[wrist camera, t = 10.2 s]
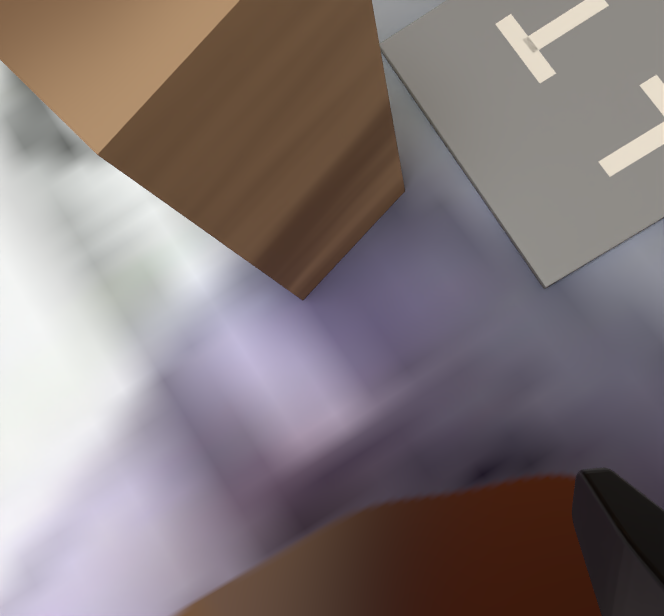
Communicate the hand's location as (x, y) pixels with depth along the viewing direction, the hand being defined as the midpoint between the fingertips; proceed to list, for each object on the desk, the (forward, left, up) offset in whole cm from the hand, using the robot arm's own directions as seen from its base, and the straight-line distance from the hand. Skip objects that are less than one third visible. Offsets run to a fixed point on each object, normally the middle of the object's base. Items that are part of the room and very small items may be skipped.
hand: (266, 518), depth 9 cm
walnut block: (+8, -3, -11) cm, 14 cm away
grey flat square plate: (+6, -13, -11) cm, 18 cm away
